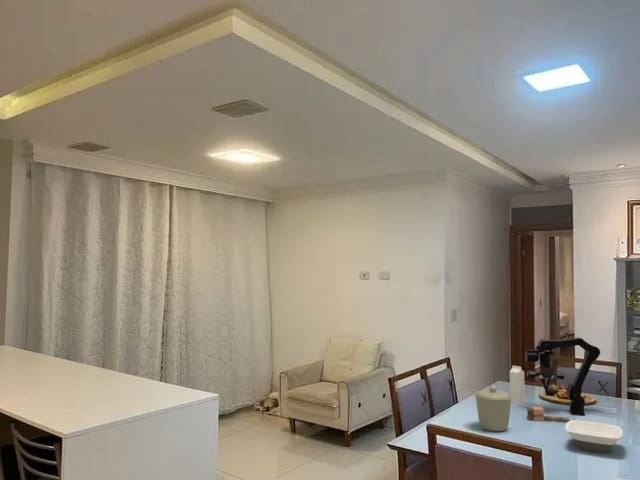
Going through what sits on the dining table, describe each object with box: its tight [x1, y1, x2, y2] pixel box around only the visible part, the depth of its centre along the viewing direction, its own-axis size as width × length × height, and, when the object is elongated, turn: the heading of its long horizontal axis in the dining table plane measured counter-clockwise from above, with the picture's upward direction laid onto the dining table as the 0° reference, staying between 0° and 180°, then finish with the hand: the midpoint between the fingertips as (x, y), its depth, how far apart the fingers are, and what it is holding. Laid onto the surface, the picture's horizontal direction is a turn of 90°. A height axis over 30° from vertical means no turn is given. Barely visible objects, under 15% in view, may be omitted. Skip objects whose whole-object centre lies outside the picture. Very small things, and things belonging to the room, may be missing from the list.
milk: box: [509, 365, 526, 406], centre depth 303 cm, size 6×6×22 cm
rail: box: [526, 406, 571, 424], centre depth 268 cm, size 20×7×5 cm, turn 73°
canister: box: [473, 385, 512, 432], centre depth 254 cm, size 18×18×21 cm
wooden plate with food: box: [538, 383, 597, 406], centre depth 313 cm, size 32×32×8 cm
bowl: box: [564, 419, 624, 454], centre depth 226 cm, size 22×23×8 cm
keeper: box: [531, 405, 545, 422], centre depth 270 cm, size 5×7×6 cm
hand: (545, 390), depth 284 cm, fingers closed
